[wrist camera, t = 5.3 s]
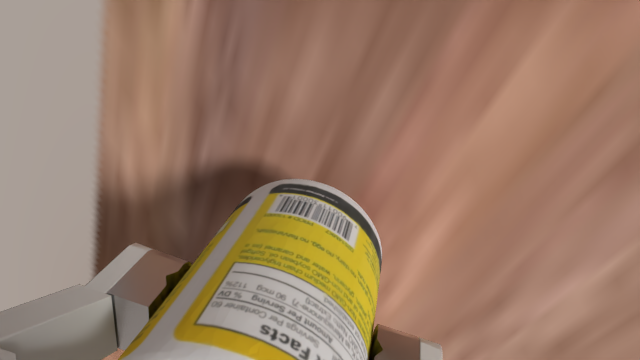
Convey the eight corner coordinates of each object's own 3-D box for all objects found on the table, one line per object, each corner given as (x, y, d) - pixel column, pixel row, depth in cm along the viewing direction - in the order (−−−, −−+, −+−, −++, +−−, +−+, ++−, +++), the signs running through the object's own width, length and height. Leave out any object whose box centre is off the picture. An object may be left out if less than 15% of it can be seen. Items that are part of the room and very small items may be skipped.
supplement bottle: (275, 307, 14) (111, 675, 7) (209, 196, 12) (-105, 526, 5) (406, 287, 12) (378, 763, 5) (350, 154, 10) (178, 576, 3)
